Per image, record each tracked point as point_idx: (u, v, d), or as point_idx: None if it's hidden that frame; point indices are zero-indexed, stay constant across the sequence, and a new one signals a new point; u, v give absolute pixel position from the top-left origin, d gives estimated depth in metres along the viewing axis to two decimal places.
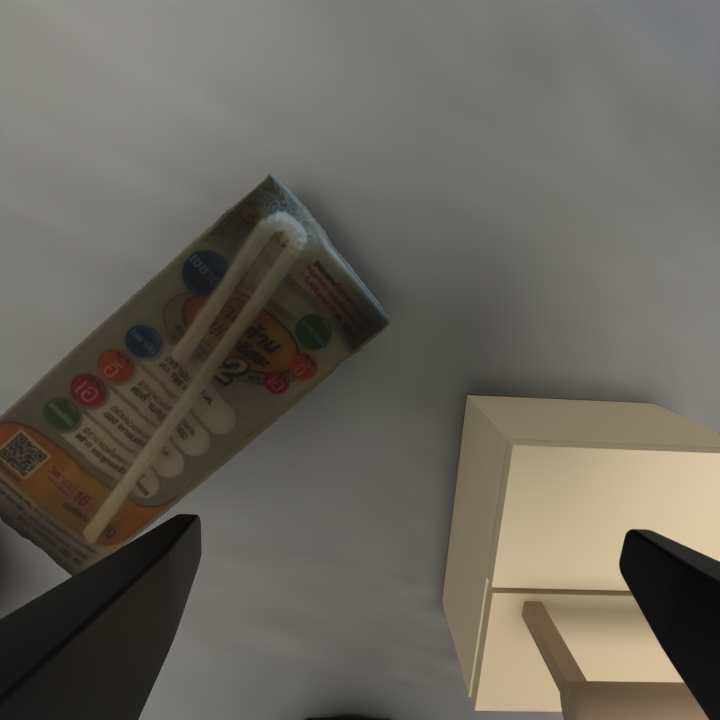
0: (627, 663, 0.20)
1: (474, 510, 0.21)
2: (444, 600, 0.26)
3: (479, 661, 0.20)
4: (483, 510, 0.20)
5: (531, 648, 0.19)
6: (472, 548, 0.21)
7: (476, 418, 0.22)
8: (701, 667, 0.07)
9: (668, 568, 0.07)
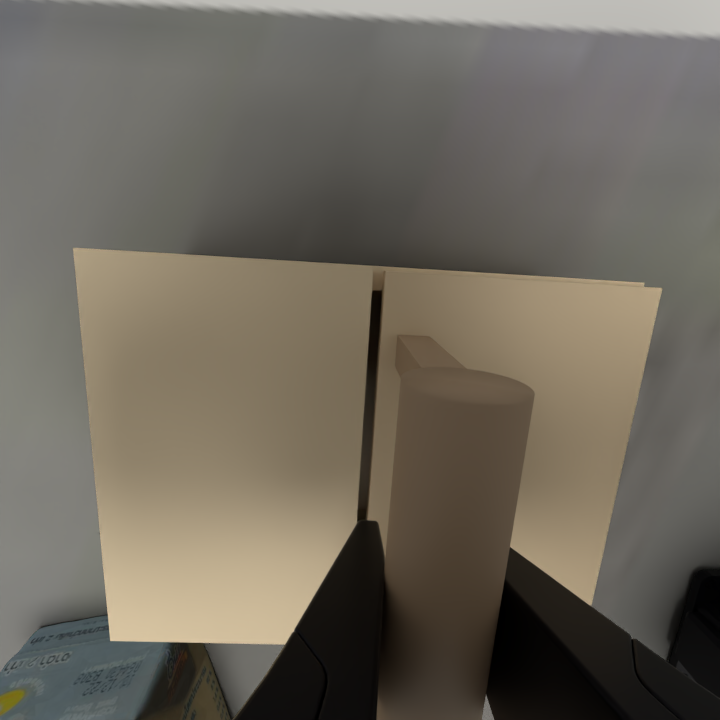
0: None
1: None
2: None
3: None
4: None
5: None
6: None
7: None
8: (494, 665, 0.07)
9: None
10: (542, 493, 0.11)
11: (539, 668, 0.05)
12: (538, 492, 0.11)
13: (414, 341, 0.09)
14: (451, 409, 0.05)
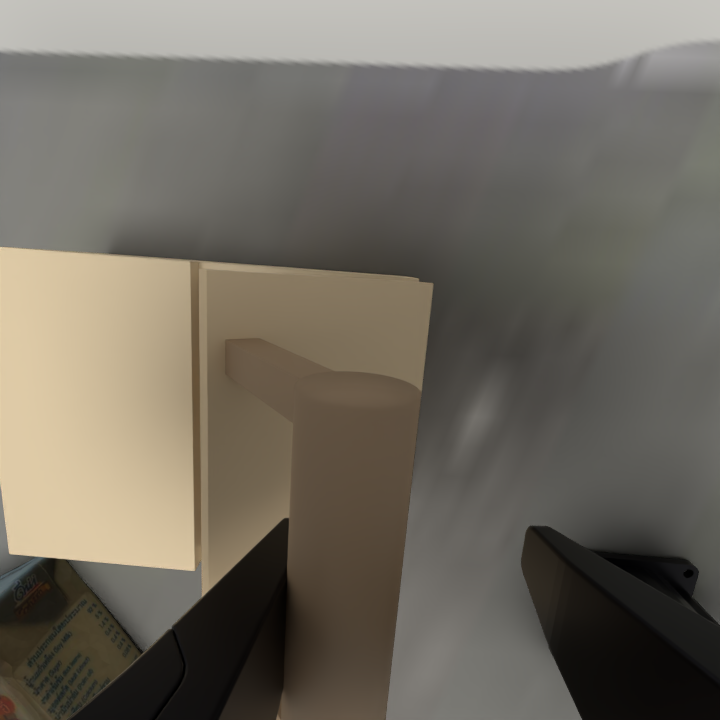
0: None
1: None
2: None
3: None
4: None
5: None
6: None
7: None
8: (579, 666, 0.07)
9: (553, 565, 0.07)
10: None
11: (645, 670, 0.05)
12: None
13: (252, 346, 0.09)
14: (370, 416, 0.05)
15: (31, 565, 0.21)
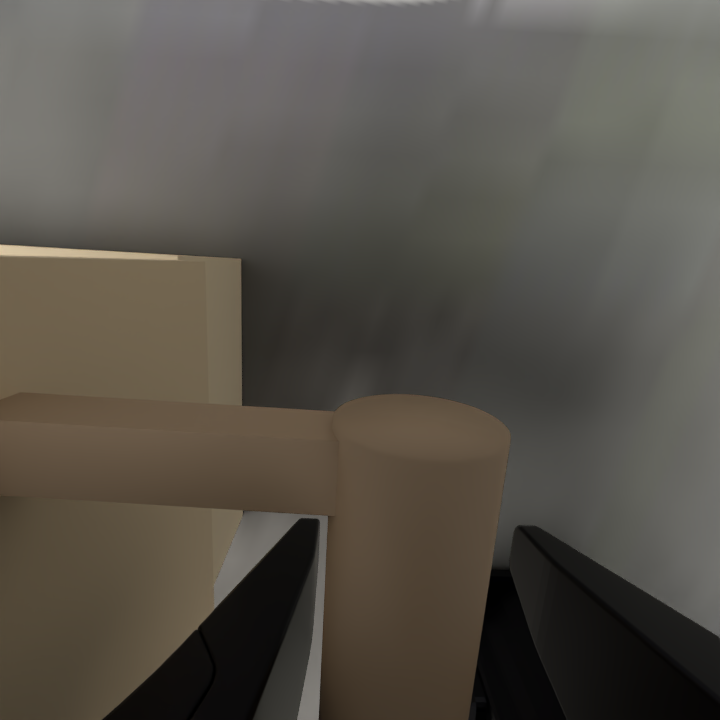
0: None
1: None
2: None
3: None
4: None
5: None
6: None
7: None
8: (564, 665, 0.07)
9: (540, 564, 0.07)
10: (176, 524, 0.09)
11: (627, 670, 0.05)
12: (173, 526, 0.09)
13: (62, 412, 0.04)
14: (507, 451, 0.04)
15: None
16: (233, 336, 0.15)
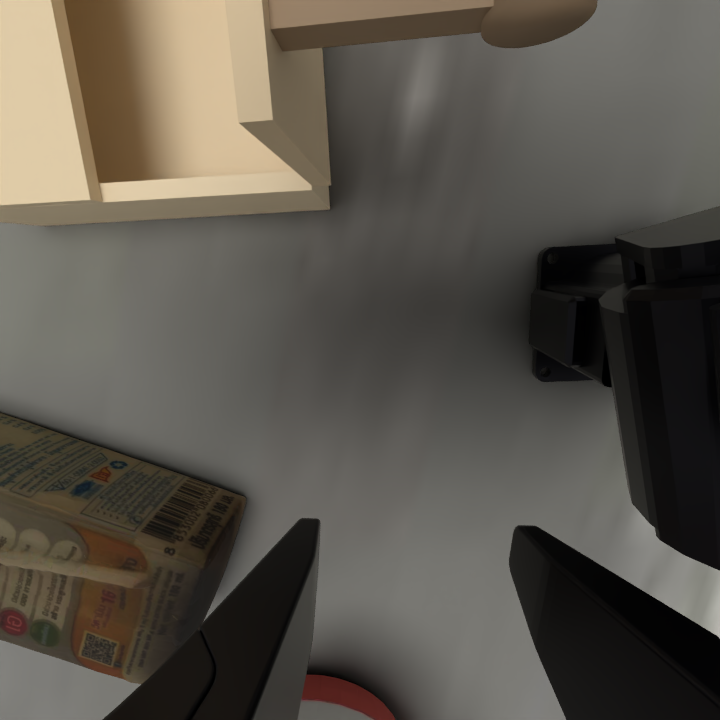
0: None
1: (101, 213, 0.16)
2: (317, 209, 0.19)
3: (305, 170, 0.11)
4: (62, 211, 0.15)
5: (300, 52, 0.09)
6: (142, 209, 0.16)
7: (22, 222, 0.18)
8: (564, 665, 0.07)
9: (539, 564, 0.07)
10: None
11: (626, 669, 0.05)
12: None
13: None
14: None
15: None
16: None
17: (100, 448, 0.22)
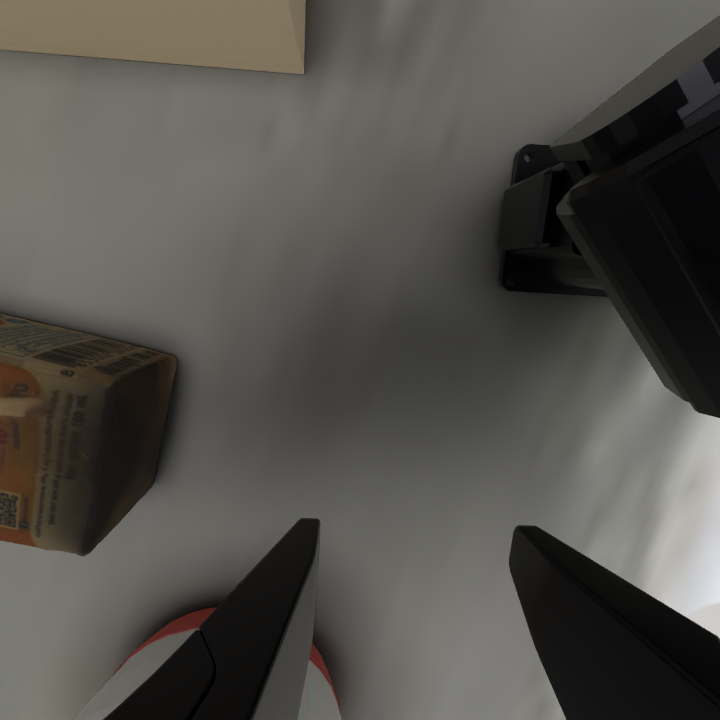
0: None
1: (37, 9, 0.14)
2: (290, 68, 0.18)
3: None
4: None
5: None
6: (87, 7, 0.14)
7: None
8: (563, 665, 0.07)
9: (539, 564, 0.07)
10: None
11: (626, 669, 0.05)
12: None
13: None
14: None
15: None
16: None
17: None
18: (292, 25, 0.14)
